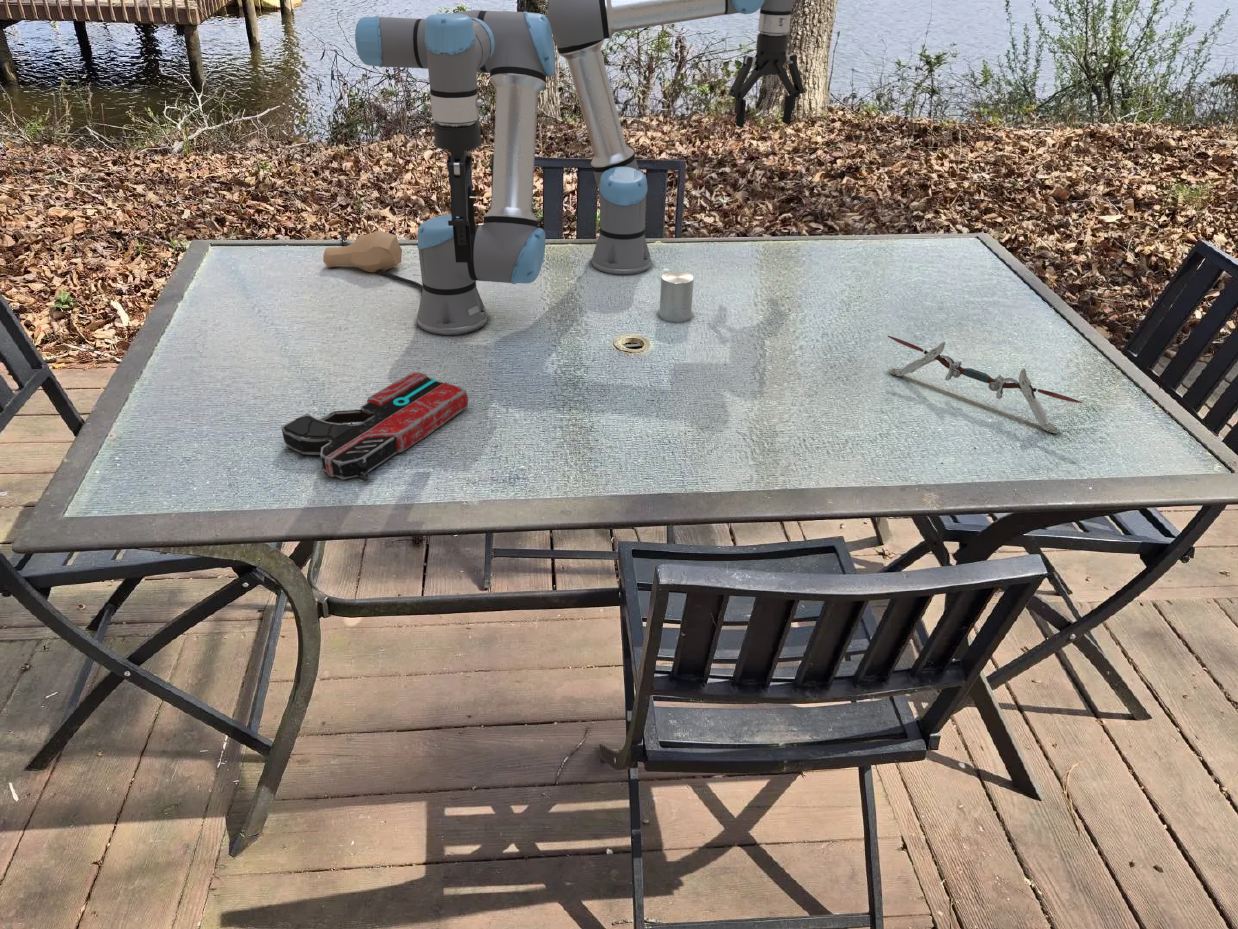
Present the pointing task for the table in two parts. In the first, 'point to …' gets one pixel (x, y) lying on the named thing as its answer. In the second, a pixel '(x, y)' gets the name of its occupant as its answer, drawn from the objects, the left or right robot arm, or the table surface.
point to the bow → (994, 384)
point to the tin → (676, 296)
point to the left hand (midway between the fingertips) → (466, 247)
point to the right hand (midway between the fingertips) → (763, 124)
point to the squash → (367, 252)
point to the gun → (376, 425)
